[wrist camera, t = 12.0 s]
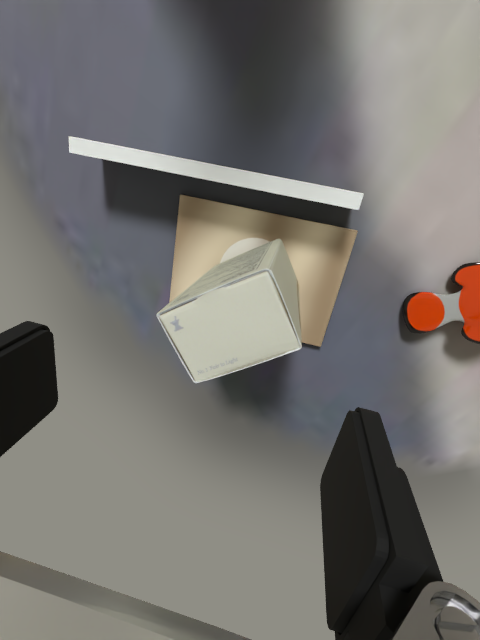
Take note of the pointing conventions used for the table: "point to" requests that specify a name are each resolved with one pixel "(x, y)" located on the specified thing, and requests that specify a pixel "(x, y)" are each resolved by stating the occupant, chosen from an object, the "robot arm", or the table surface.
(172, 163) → the acrylic wall
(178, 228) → the cork pad
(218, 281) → the skincare box
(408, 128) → the table surface
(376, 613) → the robot arm
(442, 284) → the table surface
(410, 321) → the fish
